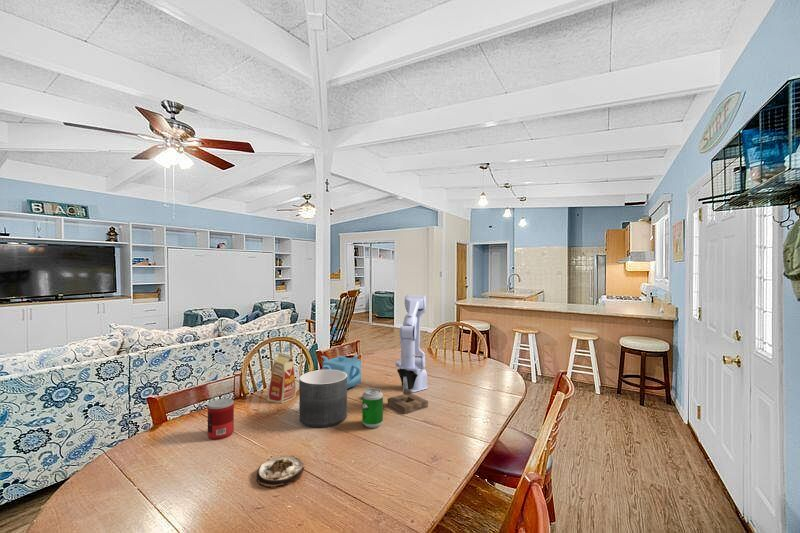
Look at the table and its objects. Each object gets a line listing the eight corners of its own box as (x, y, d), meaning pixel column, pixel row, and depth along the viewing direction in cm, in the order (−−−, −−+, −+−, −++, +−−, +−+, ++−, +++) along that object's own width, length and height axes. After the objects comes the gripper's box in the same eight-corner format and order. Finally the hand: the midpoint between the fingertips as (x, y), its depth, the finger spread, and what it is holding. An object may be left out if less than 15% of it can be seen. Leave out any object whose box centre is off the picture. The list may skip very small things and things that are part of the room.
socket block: (409, 398, 154) (409, 392, 154) (428, 406, 145) (428, 400, 145) (387, 404, 147) (387, 398, 147) (405, 414, 138) (405, 407, 138)
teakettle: (363, 392, 161) (363, 360, 161) (321, 395, 157) (321, 362, 157) (358, 379, 179) (358, 350, 179) (320, 381, 175) (321, 352, 175)
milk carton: (267, 400, 150) (267, 354, 150) (282, 393, 159) (282, 349, 159) (284, 404, 147) (284, 356, 147) (298, 396, 155) (298, 351, 155)
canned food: (238, 431, 123) (238, 399, 123) (220, 442, 115) (220, 408, 115) (221, 427, 125) (221, 397, 125) (202, 438, 118) (202, 405, 118)
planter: (290, 417, 134) (290, 376, 134) (328, 404, 147) (329, 366, 147) (316, 433, 122) (317, 387, 122) (356, 417, 135) (356, 376, 135)
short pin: (371, 396, 156) (371, 387, 156) (376, 398, 154) (376, 389, 154) (365, 398, 154) (365, 388, 154) (369, 400, 152) (369, 391, 152)
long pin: (408, 391, 148) (408, 374, 148) (412, 393, 145) (413, 376, 145) (401, 392, 146) (401, 375, 146) (406, 395, 143) (406, 377, 143)
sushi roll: (249, 497, 88) (249, 481, 88) (254, 465, 102) (254, 451, 102) (309, 487, 93) (310, 471, 93) (306, 457, 107) (306, 444, 107)
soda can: (384, 420, 132) (384, 388, 132) (381, 429, 124) (381, 395, 124) (364, 419, 133) (364, 387, 133) (360, 428, 125) (360, 394, 125)
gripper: (389, 352, 149) (389, 384, 149) (411, 360, 138) (411, 394, 138) (403, 350, 154) (402, 381, 154) (424, 357, 142) (424, 390, 142)
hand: (407, 387), depth 146 cm, fingers closed on long pin, 3 cm apart
